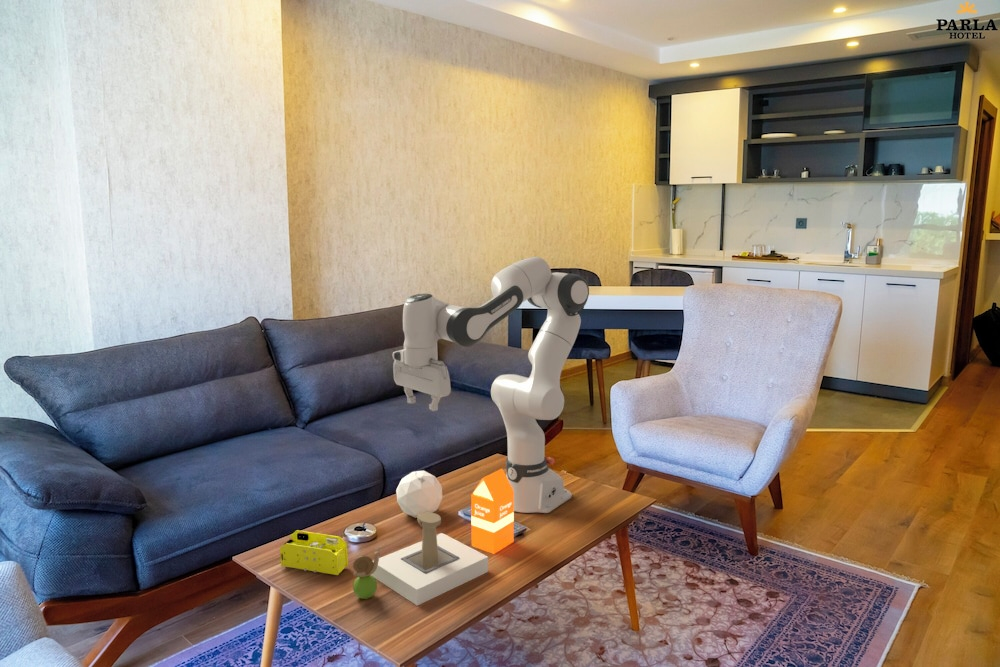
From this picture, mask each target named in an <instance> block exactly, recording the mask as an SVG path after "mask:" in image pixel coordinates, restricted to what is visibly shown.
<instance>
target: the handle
mask: <svg viewBox="0 0 1000 667" xmlns="http://www.w3.org/2000/svg"><path fill="white" fill-rule="evenodd" d="M416 520H417V523H418V525H419V526H421V527H422V528H421V529H422V536H421V538H422V540H421V541H422V564H423V567H422V568H423V569H425V570H428V569H430V568H432V567H434V566H437V565H439V564H438V548H437V535H438V534H437V527H439V526H440V525H441V524H442V518H441V516H440V515H439V514H437V513H434V512H433V513H432V512H423V513H420V514H418V515H417V519H416Z"/></svg>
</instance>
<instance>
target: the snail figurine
mask: <svg viewBox="0 0 1000 667" xmlns="http://www.w3.org/2000/svg"><path fill="white" fill-rule="evenodd" d="M377 550H378V551H375V552H374V554H373V557H374V559H372V557H370V556H368V555H359V556H357V557H356V558H355V559H354V561H353V563H352V568H353V569H354V571H355V572H353V575H354V576H356V578H355V580H354V581H353V586H352V588H353V593H354V594H355V596H356V597H358V598H360V599H362V600H368V599H369V598H371V597H373V596H374V595H375V594H376V592H377V589H378V582H377V579H376V578H374V577H373V576H372V573H374V572H375V570H376V569H377V566H378V562H379V558H381V552H380V551H381V548H380V546H377ZM373 561H374V562H373Z"/></svg>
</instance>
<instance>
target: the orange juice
mask: <svg viewBox="0 0 1000 667" xmlns="http://www.w3.org/2000/svg"><path fill="white" fill-rule="evenodd" d="M470 495H471V496H470V497H471V498H470V500H471V501H470V502H471V506H470V508H471V510H470V511H471V512H470V513H471V516H470V518H471V519H470V520H471V522H470V523H471V524H470V526H471V546H472V547H474V548H476V549H479V550H481V551H484V552H487V553H491V554H493V555H495V554H496V553H498V552H500V551H501V550H503V549H505V548H506V547H508V546H509V545H511V544H512V543H514V542H515V540H514V538H515V537H514V534H515V533H514V530H515V528H514V527H515V525H514V522H515V516H514V515H515V514H514V513H515V511H514V491H513V489H512V487H511V485H510V483H509V481H508V479H507V477H506V473H505V471H504V469H503V468H500V469H498V470H496V471H494V472H492V473H490V474H488V475H486V476H484V477H482V478H481V480H480V481H479V483H478V485H477V486H476V487H475V489H474V491H473V492H472V494H470Z"/></svg>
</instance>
